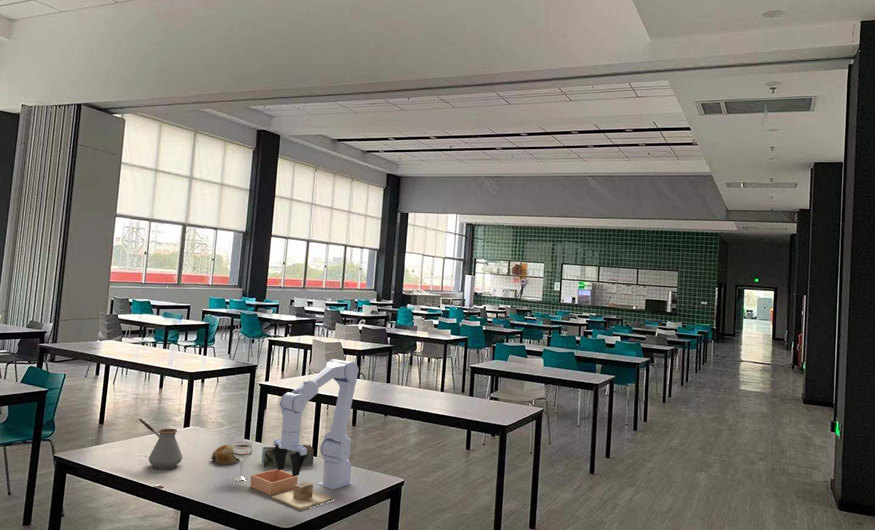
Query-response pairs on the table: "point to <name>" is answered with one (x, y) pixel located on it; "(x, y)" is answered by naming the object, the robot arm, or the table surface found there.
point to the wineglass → (242, 455)
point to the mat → (288, 506)
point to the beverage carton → (270, 461)
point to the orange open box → (273, 481)
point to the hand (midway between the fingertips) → (288, 472)
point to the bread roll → (224, 455)
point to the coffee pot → (164, 449)
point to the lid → (302, 497)
